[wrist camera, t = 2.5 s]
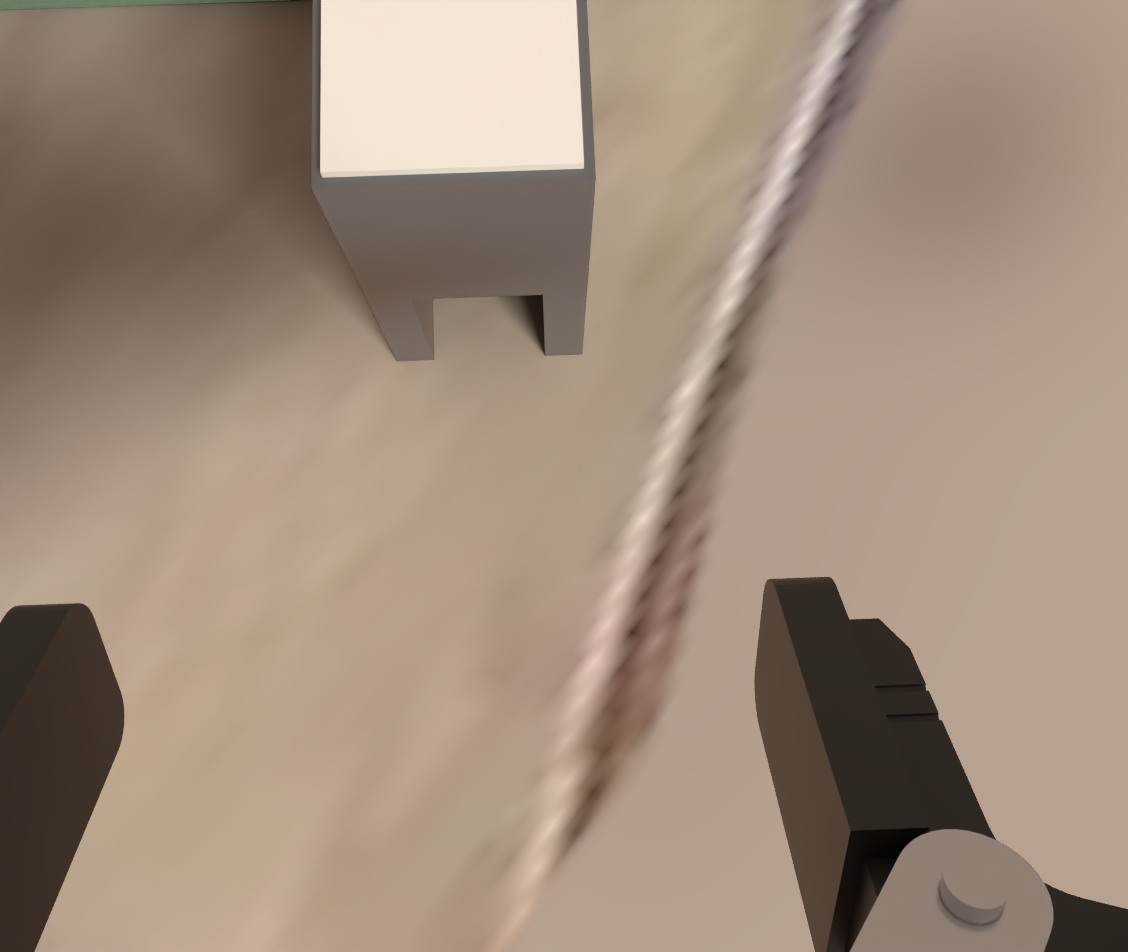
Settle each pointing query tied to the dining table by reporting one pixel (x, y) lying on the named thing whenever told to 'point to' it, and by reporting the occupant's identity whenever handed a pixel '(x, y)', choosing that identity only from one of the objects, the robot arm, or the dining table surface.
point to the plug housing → (456, 156)
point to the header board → (101, 3)
